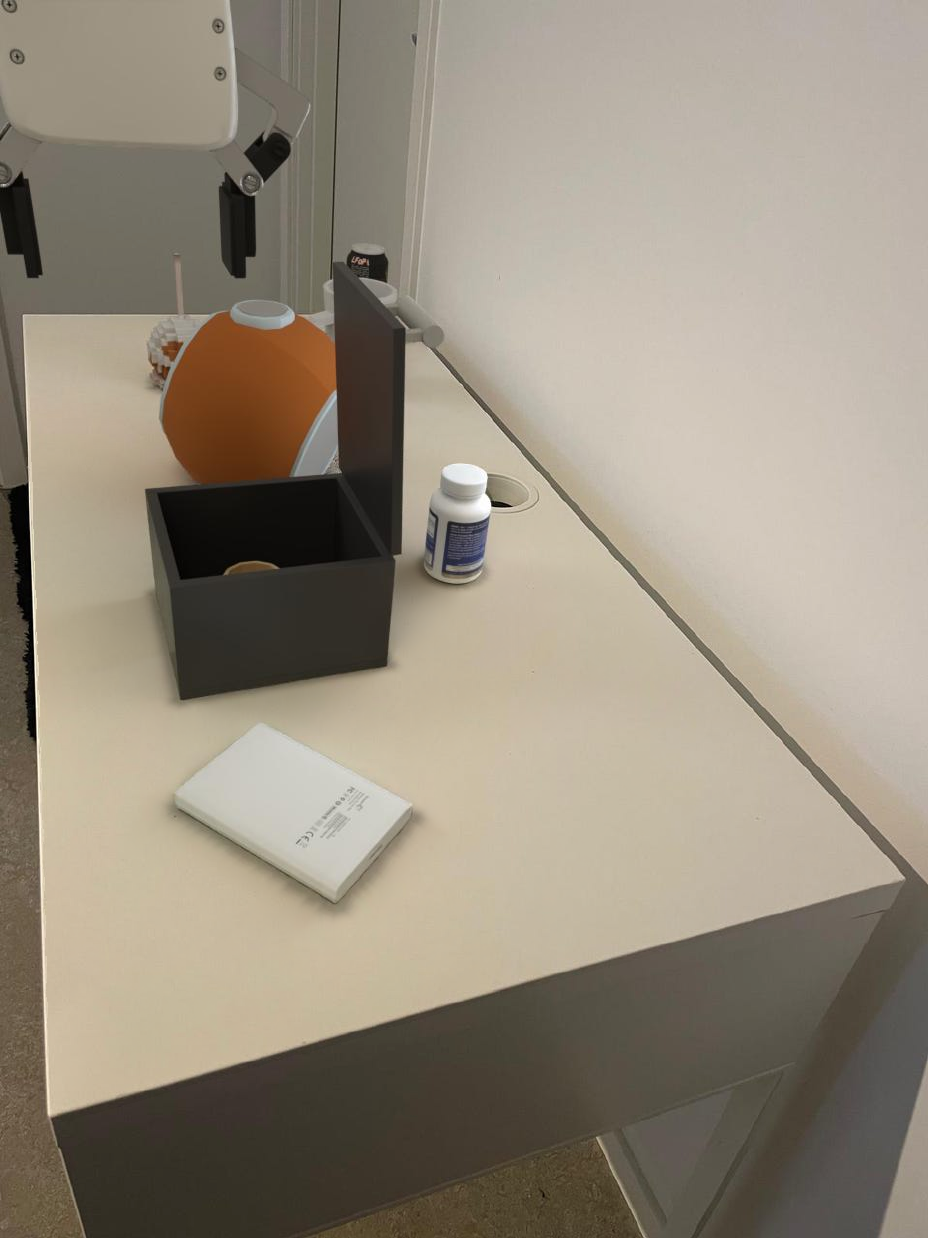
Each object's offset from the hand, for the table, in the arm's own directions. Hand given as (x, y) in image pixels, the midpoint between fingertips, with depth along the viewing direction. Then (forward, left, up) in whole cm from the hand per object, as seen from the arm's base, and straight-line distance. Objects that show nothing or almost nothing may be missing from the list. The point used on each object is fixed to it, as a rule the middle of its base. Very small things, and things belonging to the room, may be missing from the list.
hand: (137, 270), depth 46 cm
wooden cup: (+7, +7, -30) cm, 31 cm away
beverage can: (+36, +73, -31) cm, 87 cm away
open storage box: (+8, +8, -30) cm, 32 cm away
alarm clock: (+13, +33, -31) cm, 47 cm away
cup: (+29, +55, -31) cm, 69 cm away
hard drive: (+6, -11, -31) cm, 33 cm away
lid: (+15, +8, -12) cm, 21 cm away
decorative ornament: (+9, +58, -31) cm, 66 cm away
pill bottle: (+26, +13, -31) cm, 42 cm away
